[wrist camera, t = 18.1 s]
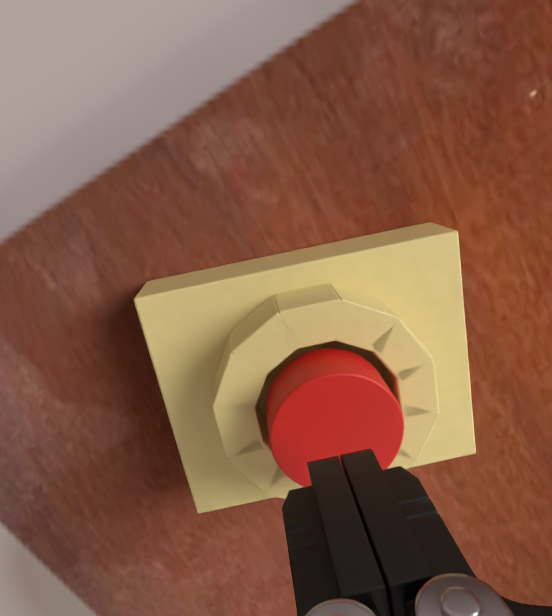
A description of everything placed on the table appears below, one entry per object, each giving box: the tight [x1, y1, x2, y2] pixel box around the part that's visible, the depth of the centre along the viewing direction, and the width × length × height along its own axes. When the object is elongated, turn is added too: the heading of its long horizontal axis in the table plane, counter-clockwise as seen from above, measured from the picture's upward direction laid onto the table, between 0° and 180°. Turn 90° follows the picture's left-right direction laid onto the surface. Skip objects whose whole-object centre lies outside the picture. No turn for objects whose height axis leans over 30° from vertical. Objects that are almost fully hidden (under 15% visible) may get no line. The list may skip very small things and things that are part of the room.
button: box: [266, 348, 404, 487], centre depth 14 cm, size 4×4×2 cm
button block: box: [134, 222, 476, 513], centre depth 16 cm, size 10×8×4 cm
